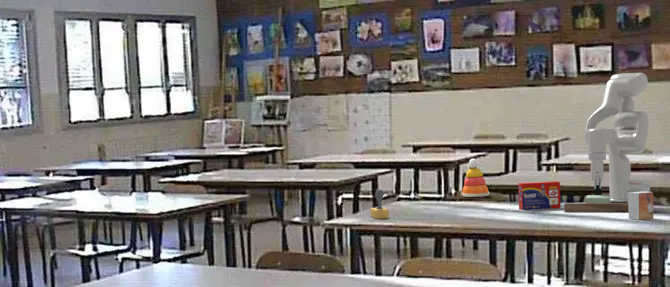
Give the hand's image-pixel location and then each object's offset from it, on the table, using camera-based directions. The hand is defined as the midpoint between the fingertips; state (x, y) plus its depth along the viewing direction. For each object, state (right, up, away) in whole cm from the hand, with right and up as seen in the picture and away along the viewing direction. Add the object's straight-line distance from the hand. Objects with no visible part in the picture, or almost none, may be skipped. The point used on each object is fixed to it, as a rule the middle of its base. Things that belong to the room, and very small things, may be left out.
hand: (598, 197), depth 433 cm
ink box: (+16, -4, -8) cm, 18 cm away
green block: (-2, -4, -8) cm, 10 cm away
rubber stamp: (-97, -8, -17) cm, 99 cm away
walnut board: (-5, -5, -21) cm, 22 cm away
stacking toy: (-45, -3, +63) cm, 78 cm away
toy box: (-26, -5, -2) cm, 27 cm away
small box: (+3, -6, -50) cm, 51 cm away
